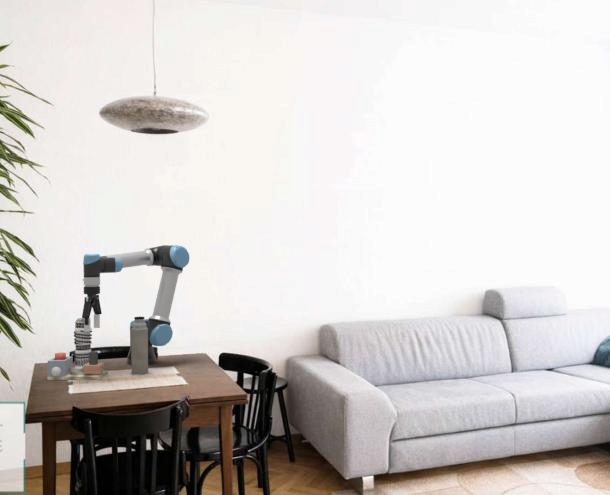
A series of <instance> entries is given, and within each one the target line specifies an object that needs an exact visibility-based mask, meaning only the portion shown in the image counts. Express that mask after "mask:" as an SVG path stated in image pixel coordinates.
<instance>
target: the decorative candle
mask: <svg viewBox="0 0 610 495" xmlns="http://www.w3.org/2000/svg"><path fill="white" fill-rule="evenodd" d="M91 321H92V320H90V323H91ZM74 324H75V326H74V332H73V340H74V342H73V343H74V345H75V349H74V359H73V360H74V362H73V365H74V367H83V365H85V364H87V363H89V352H91V351H92V348H91V345H92V340H91V339H93V337H92V335H93V334H91V333H92V332H93V330H92V326H90V332H84V318H82V317H81V318H80V317H79V318H77V319H76V320H75V321H74Z"/></svg>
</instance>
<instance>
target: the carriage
mask: <svg viewBox="0 0 610 495" xmlns="http://www.w3.org/2000/svg"><path fill="white" fill-rule="evenodd" d="M98 354H99V351H98V350H91V352H89V363H87V364H85V365H83V369H84V374H101V368H102V367H103V372H104V371H105V370H104V368H105V362H99V355H98Z"/></svg>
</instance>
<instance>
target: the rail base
mask: <svg viewBox="0 0 610 495" xmlns="http://www.w3.org/2000/svg"><path fill="white" fill-rule="evenodd" d="M107 374H108V375H109V371H107V370H104V372H103V367H102V368H101V374H84V369H83V367H75V366H73V367H72V368H70V374H68V375H67V376H65V377H48V376H46V377H47V378H46V379H47V381H87V380H88V381H100V380H102V379H104V378H105V377H107V376H108V375H107ZM103 377H104V378H103Z"/></svg>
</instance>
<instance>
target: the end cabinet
mask: <svg viewBox="0 0 610 495" xmlns="http://www.w3.org/2000/svg"><path fill="white" fill-rule="evenodd" d="M73 360H74V359H73V356H66V359H65V360H55V357H53V358H51V359H49V360H47V377H65V376H67V375H68V374H70V368H72V367H74V362H73Z"/></svg>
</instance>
